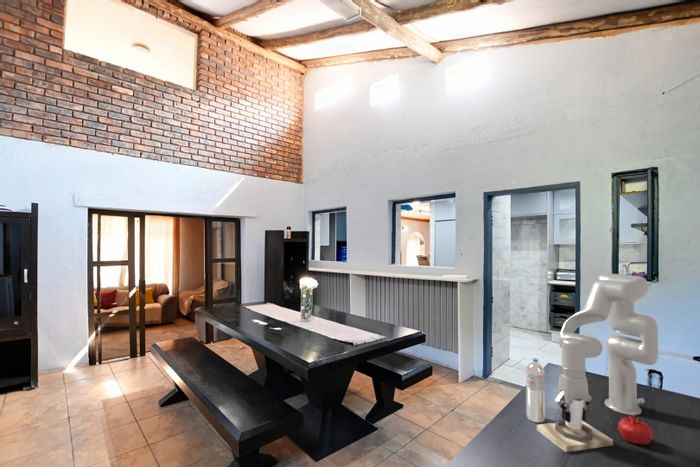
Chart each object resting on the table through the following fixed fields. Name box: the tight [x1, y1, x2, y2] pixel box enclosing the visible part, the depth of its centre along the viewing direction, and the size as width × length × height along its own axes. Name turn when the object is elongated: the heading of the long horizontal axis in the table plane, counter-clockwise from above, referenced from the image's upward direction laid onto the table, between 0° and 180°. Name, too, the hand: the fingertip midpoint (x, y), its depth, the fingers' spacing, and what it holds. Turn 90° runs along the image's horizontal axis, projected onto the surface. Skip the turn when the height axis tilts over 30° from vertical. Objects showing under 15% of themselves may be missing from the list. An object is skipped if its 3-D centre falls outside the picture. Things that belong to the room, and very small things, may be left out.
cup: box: [564, 399, 584, 429], centre depth 130 cm, size 7×7×11 cm
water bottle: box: [525, 358, 546, 424], centre depth 142 cm, size 7×7×25 cm
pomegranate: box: [617, 415, 654, 446], centre depth 128 cm, size 10×10×9 cm
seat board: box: [536, 419, 614, 453], centre depth 129 cm, size 20×14×4 cm
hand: (573, 419), depth 130 cm, fingers closed on cup, 5 cm apart
